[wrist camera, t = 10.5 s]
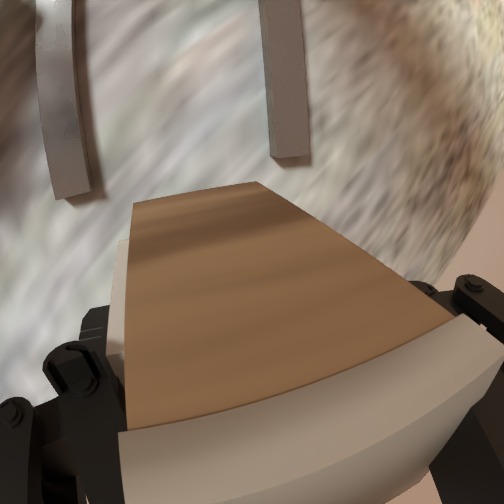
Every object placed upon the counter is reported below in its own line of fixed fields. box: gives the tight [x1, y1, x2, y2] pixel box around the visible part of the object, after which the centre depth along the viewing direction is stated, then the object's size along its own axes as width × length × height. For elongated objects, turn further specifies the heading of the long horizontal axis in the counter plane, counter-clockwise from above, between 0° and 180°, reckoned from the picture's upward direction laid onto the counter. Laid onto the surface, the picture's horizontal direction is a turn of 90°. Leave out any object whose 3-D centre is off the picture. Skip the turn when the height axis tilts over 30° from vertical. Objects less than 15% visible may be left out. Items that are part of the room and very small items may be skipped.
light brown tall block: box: [118, 181, 504, 504], centre depth 9 cm, size 5×6×12 cm
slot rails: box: [35, 0, 310, 200], centre depth 13 cm, size 12×14×1 cm
